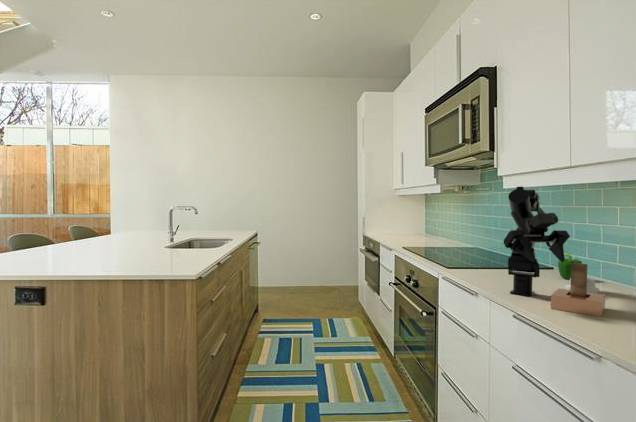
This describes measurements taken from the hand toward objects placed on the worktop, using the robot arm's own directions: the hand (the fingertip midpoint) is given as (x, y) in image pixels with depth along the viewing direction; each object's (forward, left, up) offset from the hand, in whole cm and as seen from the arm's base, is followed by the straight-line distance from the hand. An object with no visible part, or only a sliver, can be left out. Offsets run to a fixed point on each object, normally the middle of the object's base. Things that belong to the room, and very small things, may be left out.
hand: (549, 261), depth 119 cm
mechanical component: (-35, +5, -14) cm, 38 cm away
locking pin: (-5, +7, -14) cm, 16 cm away
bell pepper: (-59, -2, -14) cm, 61 cm away
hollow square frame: (-5, +7, -14) cm, 16 cm away
